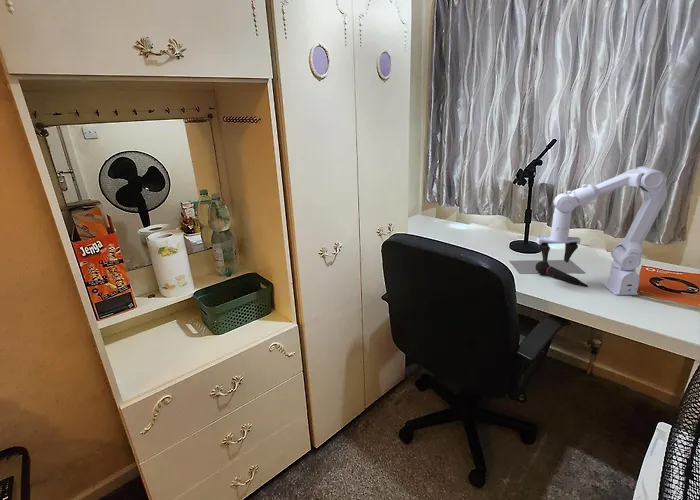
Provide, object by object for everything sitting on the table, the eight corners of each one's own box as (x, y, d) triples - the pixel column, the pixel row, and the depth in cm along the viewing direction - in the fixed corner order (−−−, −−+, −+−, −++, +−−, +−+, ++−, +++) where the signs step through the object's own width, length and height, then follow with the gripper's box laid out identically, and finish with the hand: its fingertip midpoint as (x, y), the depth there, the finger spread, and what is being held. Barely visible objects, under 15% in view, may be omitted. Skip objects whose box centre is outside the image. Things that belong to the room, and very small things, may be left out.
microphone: (586, 292, 146) (536, 271, 160) (593, 279, 144) (542, 258, 158) (581, 293, 142) (530, 271, 156) (588, 279, 141) (536, 258, 154)
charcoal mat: (585, 273, 155) (585, 273, 155) (519, 273, 157) (519, 273, 157) (570, 260, 168) (570, 259, 168) (509, 260, 171) (509, 260, 170)
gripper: (576, 223, 142) (570, 257, 147) (535, 224, 144) (531, 257, 148) (585, 229, 136) (579, 264, 140) (542, 229, 137) (538, 264, 142)
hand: (555, 261), depth 144 cm, fingers open, 7 cm apart
